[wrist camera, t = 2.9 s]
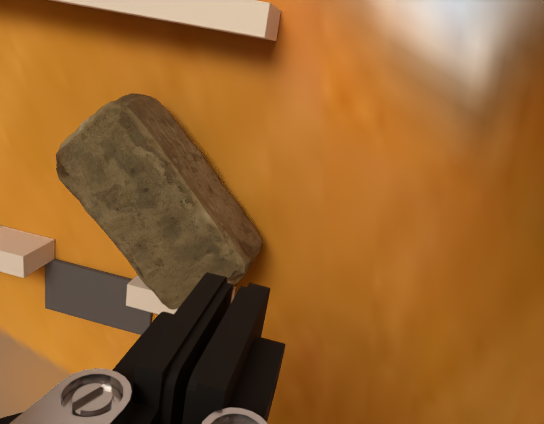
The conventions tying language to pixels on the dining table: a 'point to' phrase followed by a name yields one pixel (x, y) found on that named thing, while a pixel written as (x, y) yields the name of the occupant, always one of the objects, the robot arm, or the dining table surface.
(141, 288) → the set of beige bars
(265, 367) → the robot arm
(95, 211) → the stone block
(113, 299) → the mat
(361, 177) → the dining table surface
